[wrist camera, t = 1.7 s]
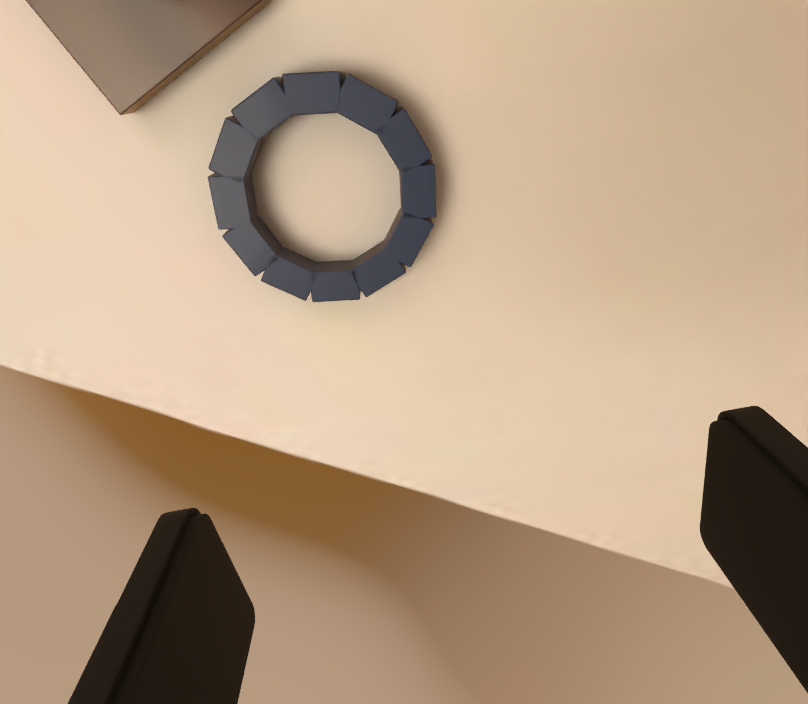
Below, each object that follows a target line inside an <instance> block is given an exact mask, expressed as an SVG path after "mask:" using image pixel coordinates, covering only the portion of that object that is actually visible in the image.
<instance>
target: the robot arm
mask: <svg viewBox="0 0 808 704" xmlns="http://www.w3.org/2000/svg"><path fill="white" fill-rule="evenodd" d="M700 533H701V537H702V540H703V542H704V545H705V546H706V548H707V550H708V551H709V553H710V554H711V555H712V557H713V558H714V560H715V561H716V563H717V564H718V565H719V567H720V568H721V570H722V571H723V573H724V574H725V575H726V577H727V578H728V580H729V581H730V583H731V584H732V585H733V587H734V588H735V590H736V591H737V592H738V594H739V596H740V597H741V598H742V600H743V601H744V603H745V604H746V606H747V607H748V608H749V610H750V611H751V613H752V614H753V615H754V617H755V618H756V620H757V621H758V622H759V624H760V625H761V627H762V628H763V630H764V631H765V633H766V634H767V635H768V637H769V638H770V640H771V641H772V643H773V644H774V646H775V647H776V648H777V650H778V651H779V653H780V654H781V656H782V657H783V658H784V660H785V661H786V663H787V664H788V666H789V667H790V668H791V670H792V671H793V673H794V674H795V676H796V677H797V678H798V680H799V681H800V683H801V684H802V685H803V687H804V688H805V690H806V691H807V693H808V448H807V447H806V446H805V445H804V444H803V443H802V442H800V441H799V440H798V439H797V438H796V437H795V436H794V435H792V434H791V433H790V432H789V431H788V430H787V429H785V428H784V427H783V426H782V425H781V424H780V423H778V422H777V421H776V420H775V419H774V418H773V417H772V416H770V415H769V414H768V413H767V412H766V411H765V410H763V409H762V408H760V407H758V406H750V407H745V408H739V409H734V410H728V411H723V412H721V413H720V414H719V416H718V419H717V421H714V422H712V423H711V424H710V428H709V437H708V447H707V458H706V468H705V479H704V489H703V500H702V510H701V521H700ZM254 624H255V613H254V607H253V604H252V602H251V600H250V598H249V596H248V594H247V592H246V590H245V588H244V586H243V584H242V582H241V580H240V577H239V576H238V573H237V571H236V569H235V567H234V565H233V563H232V561H231V559H230V557H229V555H228V553H227V551H226V549H225V547H224V545H223V543H222V541H221V539H220V537H219V535H218V533H217V531H216V529H215V526H214V524H213V522H212V520H211V518H210V517H209V515H207V514H201V513H200V512H199V510H198V509H196V508H189V509H183V510H178V511H172V512H168V513H164V514H162V515H161V516H160V518H159V519H158V521H157V523H156V526H155V527H154V529H153V531H152V534H151V536H150V538H149V540H148V542H147V544H146V546H145V548H144V550H143V552H142V554H141V556H140V558H139V560H138V562H137V564H136V566H135V568H134V571H133V572H132V575H131V577H130V579H129V581H128V583H127V585H126V587H125V589H124V591H123V593H122V595H121V597H120V599H119V601H118V603H117V605H116V606H115V608H114V610H113V612H112V614H111V616H110V618H109V620H108V622H107V624H106V626H105V628H104V631H103V633H102V635H101V637H100V639H99V641H98V643H97V645H96V647H95V649H94V651H93V653H92V655H91V657H90V659H89V661H88V663H87V665H86V667H85V670H84V671H83V674H82V676H81V678H80V680H79V682H78V684H77V686H76V688H75V690H74V692H73V694H72V696H71V698H70V700H69V702H68V704H237V702H238V698H239V693H240V689H241V684H242V679H243V675H244V670H245V666H246V661H247V657H248V652H249V648H250V643H251V639H252V633H253V630H254Z"/></svg>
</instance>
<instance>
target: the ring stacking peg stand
mask: <svg viewBox="0 0 808 704" xmlns="http://www.w3.org/2000/svg"><path fill="white" fill-rule="evenodd" d="M26 1H27V2H28V3H29V5H30V6H31V7H32V8H33V10H34V11H35V12H36V13H37V14H38V16H39V17H40V18H41V19H42V20H43V22H44V23H45V24H46V25H47V27H48V28H49V29H50V30H51V31H52V33H53V34H54V35H55V36H56V37H57V39H58V40H59V41H60V42H61V44H62V45H63V46H64V47H65V48H66V50H67V51H68V52H69V53H70V54H71V56H72V57H73V58H74V59H75V61H76V62H77V63H78V64H79V65H80V67H81V68H82V69H83V70H84V71H85V73H86V74H87V75H88V76H89V78H90V79H91V80H92V81H93V82H94V84H95V85H96V86H97V87H98V88H99V90H100V91H101V92H102V93H103V94H104V96H105V97H106V98H107V99H108V101H109V102H110V103H111V104H112V105H113V107H114V108H115V109H116V110H117V111H118V113H119V114H120V115H123V114H129V113H134V112H135V111H136V110H137V109H139V108H140V107H141V106H142V105H143V104H145V103H146V102H147V101H148V100H150V99H151V98H152V97H153V96H155V95H156V94H157V93H158V92H160V91H161V90H162V89H163V88H165V87H166V86H167V85H168V84H169V83H171V82H172V81H173V80H174V79H176V78H177V77H178V76H179V75H181V74H182V73H183V72H184V71H186V70H187V69H188V68H189V67H190V66H192V65H193V64H194V63H195V62H197V61H198V60H199V59H200V58H202V57H203V56H204V55H205V54H207V53H208V52H209V51H210V50H212V49H213V48H214V47H215V46H216V45H218V44H219V43H220V42H221V41H223V40H224V39H225V38H226V37H228V36H229V35H230V34H231V33H233V32H234V31H235V30H236V29H237V28H239V27H240V26H241V25H242V24H244V23H245V22H246V21H247V20H249V19H250V18H251V17H252V16H254V15H255V14H256V13H257V12H259V11H260V10H261V9H262V8H263V7H265V6H266V5H267V4H268V3H270V2H271V0H26Z"/></svg>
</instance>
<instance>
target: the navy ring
mask: <svg viewBox="0 0 808 704" xmlns="http://www.w3.org/2000/svg"><path fill="white" fill-rule="evenodd" d="M282 77H283V80H282V78H281V77H275V78H272V79H271V80H270V81H268V82H267V83H266V84H264V85H263V86H262V87H260V88H259V89H258V90H256V91H255V92H254V93H253V94H251V95H250V96H249V97H247V98H246V99H245V100H243V101H242V102H241V103H240V104H238V105H237V106H236V107H234V108H233V109H232V110H231V112H232V114H233V116H230V117H227V118H225V121H224V124H223V127H222V130H221V133H220V136H219V139H218V141H217V144H216V147H215V150H214V153H213V156H212V159H211V162H210V165H209V169H210V170H211V171H213V172H215V173H214V174H212V175H210V176H209V177H208V181H209V186H210V190H211V195H212V200H213V205H214V209H215V214H216V219H217V224H218V229H229V230H228V231H227V232H226V233H225V234H224V235H223V236H222V237H223V238H224V239H225V240H226V242H227V243H228V244H229V245H230V247H231V248H232V249H233V250H234V251H235V253H236V254H237V255H238V256H239V258H240V259H241V260H242V261H243V262H244V264H245V265H246V266H247V267H248V268H249V270H250V271H251V272H252V273H253V275H254V276H257V275H258V274H260V273H261V272H262V271H264V270H265V272H264V274H263V276H262V279H261V281H262V282H265V283H267V284H269V285H271V286H274V287H276V288H278V289H280V290H283V291H285V292H287V293H289V294H292V295H294V296H296V297H298V298H301V299H303V300H305V301H306V300H307V298H308V296H309V293H310V291H311V294H312V301H313V302H323V301H340V300H358V299H360V292H361V291H362V292H363V294H364V295H365V296H366V297H368V296H369V295H371V294H373V293H374V292H376V291H377V290H379V289H381V288H382V287H384V286H385V285H387V284H389V283H390V282H392V281H393V280H395V279H397V278H398V277H400V276H401V275H403V274H405V273H406V269H405V265H407V266H409V267H411V266H412V264H413V263H414V261H415V259H416V257H417V255H418V253H419V252H420V250H421V248H422V246H423V244H424V242H425V240H426V239H427V237H428V235H429V233H430V231H431V229H432V228H433V226H434V224H433V221H432V218H435V217H436V189H435V164H434V163H433V161H432V160H429V159H431V158H432V154H431V153H430V151H429V149H428V147H427V146H426V144H425V142H424V141H423V139H422V137H421V135H420V134H419V132H418V130H417V129H416V127H415V125H414V123H413V122H412V120H411V118H410V117H409V115H408V113H407V111H406V110H405V108H404V107H401V108H399V109H398V110H396V111H395V109H396V107H397V104H398V101H397V100H396V99H394V98H393V97H391V96H389V95H387V94H386V93H384V92H382V91H380V90H379V89H377V88H375V87H373V86H372V85H370V84H368V83H366V82H365V81H363V80H361V79H359V78H358V77H356V76H354V75H352V74H350V73H348V74H347V75H346V78H345V80H344V82H343V79H342V72H341V71H328V72H308V73H289V74H283V75H282ZM394 111H395V112H394ZM325 113H339V114H340V115H342V116H344V117H346V118H348V119H350V120H351V121H353V122H355V123H357V124H359V125H361V126H362V127H364V128H366V129H368V130H370V131H372V132H373V133H375V134H377V135H378V137H379V138H380V140H381V142H382V143H383V145H384V147H385V148H386V150H387V151H388V153H389V155H390V156H391V158H392V159H393V161H394V163H395V164H396V166H397V168H398V169H399V174H400V196H401V208H400V210H399V212H398V214H397V216H396V218H395V220H394V222H393V224H392V226H391V228H390V230H389V232H388V234H387V236H386V238H385V240H384V241H382V242H381V243H379V244H378V245H376V246H375V247H373V248H372V249H370V250H368V251H367V252H365V253H364V254H362V255H361V256H359V257H358V258H356V259H355V260H348V261H331V262H315V261H313V260H311V259H309V258H307V257H304V256H302V255H300V254H298V253H296V252H294V251H292V250H289V249H287V248H285V247H283V246H282V245H281V244H280V243H279V241H278V240H277V239H276V238H275V236H274V235H273V234H272V232H271V231H270V230H269V228H268V227H267V226H266V225H265V223H264V222H263V221H262V219H261V218H260V217H259V216H258V212H257V206H256V200H255V195H254V189H253V183H252V177H251V174H252V171H253V168H254V166H255V163H256V160H257V158H258V155H259V152H260V150H261V147H262V144H263V142H264V139H265V137H266V136H267V135H269V134H270V133H271V132H273V131H274V130H275V129H277V128H278V127H280V126H281V125H282V124H284V123H285V122H286V121H288V120H289V119H290V118H292V117H293V116H294V115H306V114H325Z"/></svg>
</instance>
